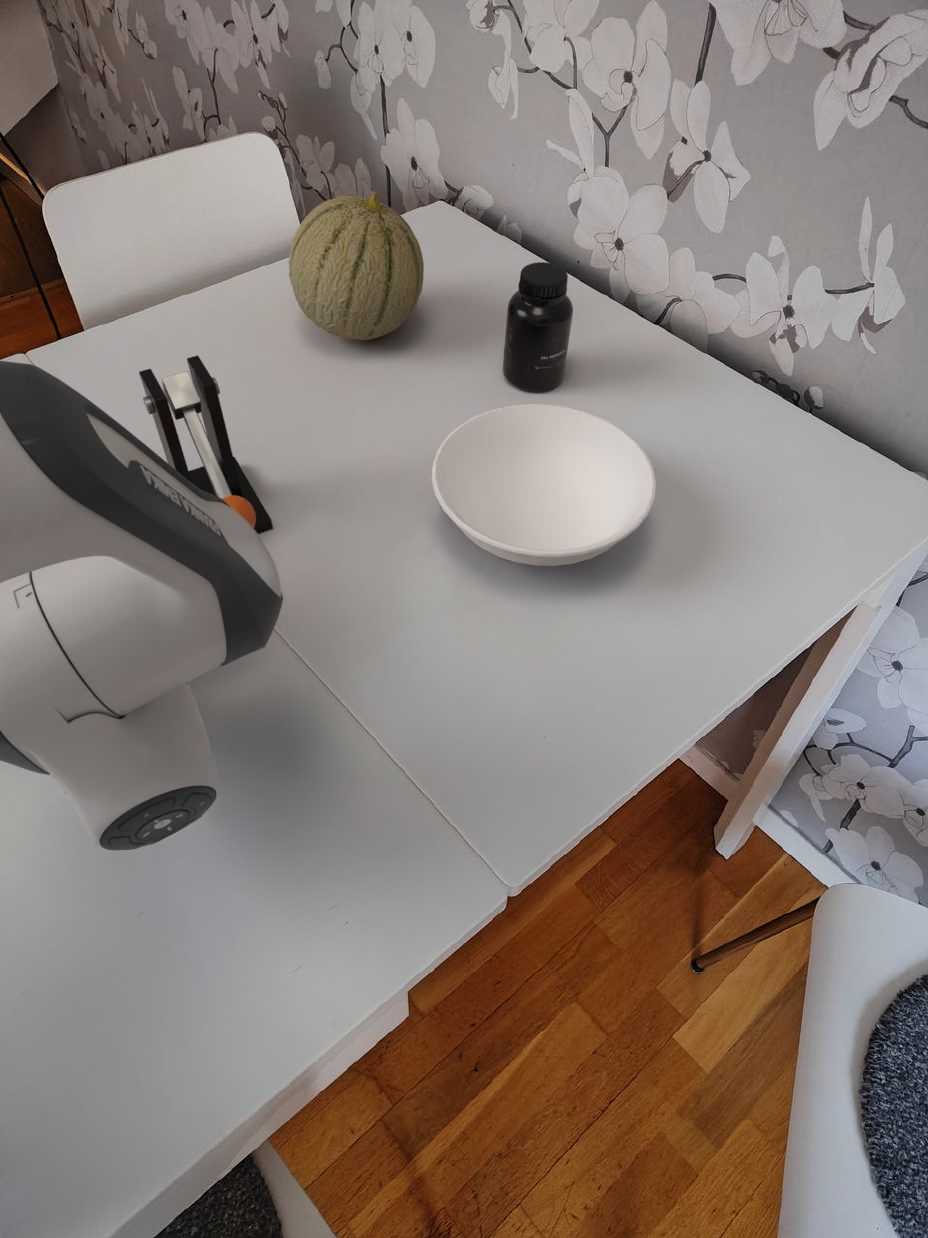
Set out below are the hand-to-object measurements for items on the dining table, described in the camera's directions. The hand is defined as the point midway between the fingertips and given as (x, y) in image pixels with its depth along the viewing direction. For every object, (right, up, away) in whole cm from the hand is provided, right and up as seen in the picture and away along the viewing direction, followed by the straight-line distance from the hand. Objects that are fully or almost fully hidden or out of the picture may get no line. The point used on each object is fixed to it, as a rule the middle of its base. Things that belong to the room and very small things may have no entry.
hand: (50, 513), depth 67 cm
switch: (+11, +5, +6) cm, 13 cm away
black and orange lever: (+9, +2, +15) cm, 17 cm away
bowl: (+39, +1, +14) cm, 41 cm away
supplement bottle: (+40, +19, +29) cm, 53 cm away
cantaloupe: (+20, +26, +34) cm, 47 cm away
